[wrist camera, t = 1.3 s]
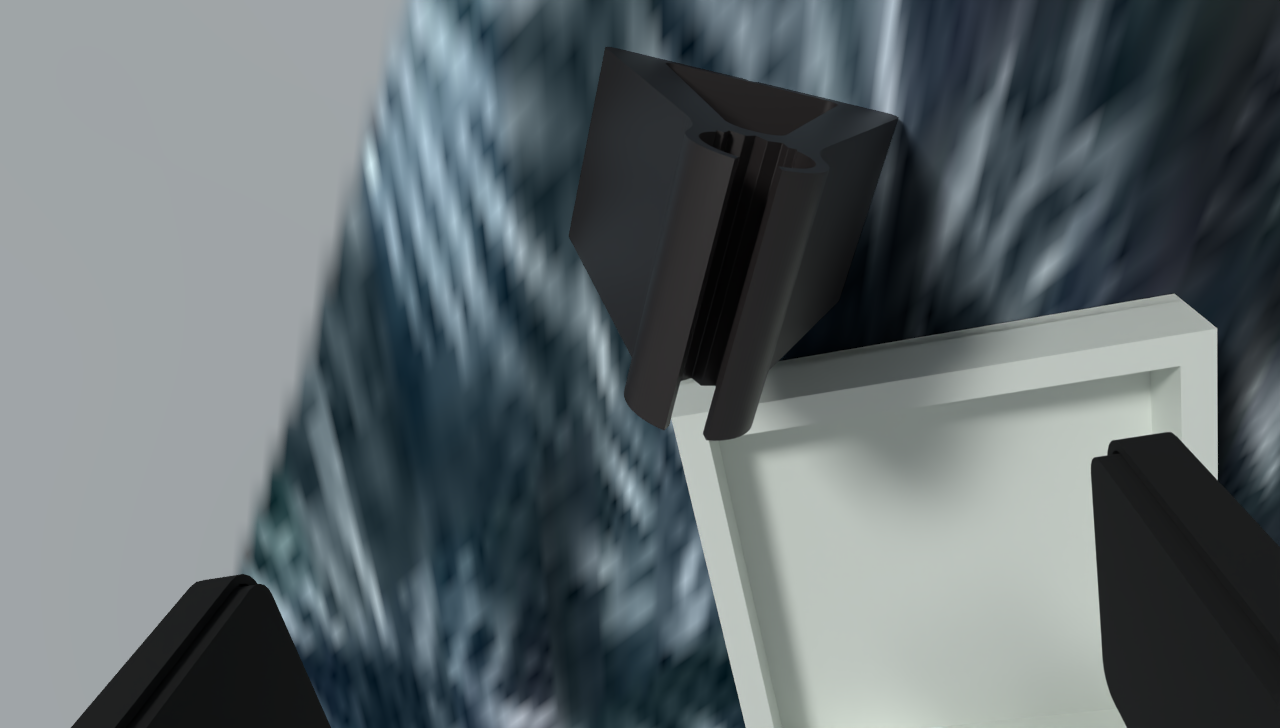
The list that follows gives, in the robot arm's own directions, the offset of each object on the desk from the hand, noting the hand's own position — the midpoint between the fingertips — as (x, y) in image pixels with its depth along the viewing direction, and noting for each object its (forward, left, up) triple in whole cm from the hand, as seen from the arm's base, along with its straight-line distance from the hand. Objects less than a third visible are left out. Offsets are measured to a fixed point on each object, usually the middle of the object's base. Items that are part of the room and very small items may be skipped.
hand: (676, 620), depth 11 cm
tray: (-5, +15, -22) cm, 27 cm away
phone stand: (0, 0, -22) cm, 22 cm away
